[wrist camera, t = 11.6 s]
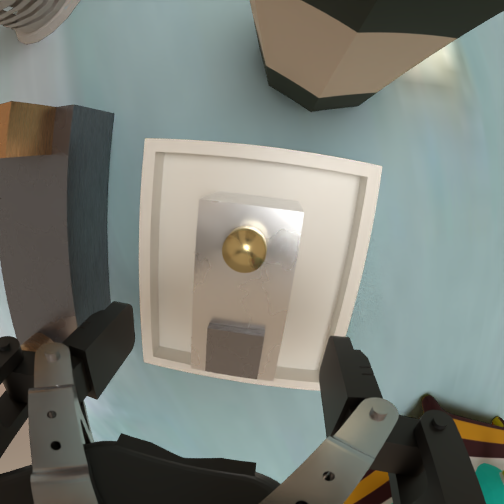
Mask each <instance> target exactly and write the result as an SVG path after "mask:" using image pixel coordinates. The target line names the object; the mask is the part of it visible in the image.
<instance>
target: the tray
mask: <svg viewBox="0 0 504 504" xmlns="http://www.w3.org/2000/svg"><path fill="white" fill-rule="evenodd" d="M381 172H382V166H379V165H374V164H369V163H365V162H360V161H355V160H350V159H344V158H339V157H333V156H328V155H322V154H316V153H309V152H303V151H296V150H289V149H282V148H274V147H266V146H257V145H248V144H238V143H227V142H215V141H200V140H182V139H155V138H145V144H144V154H143V166H142V179H141V196H140V220H139V292H140V316H141V332H142V346H143V357H144V362H145V363H149V364H153V365H158V366H162V367H166V368H170V369H175V370H179V371H184V372H189V373H194V374H199V375H204V376H209V377H215V378H220V379H226V380H232V381H238V382H245V383H252V384H259V385H267V386H275V387H284V388H294V389H305V390H318V391H320V384H319V372H320V367H321V363H322V360H323V356H324V353H325V349H326V346H327V342H328V339H329V337H330V336H342V337H345V336H346V333H347V330H348V326H349V323H350V319H351V316H352V312H353V308H354V305H355V301H356V297H357V293H358V289H359V285H360V281H361V277H362V273H363V269H364V264H365V260H366V255H367V251H368V246H369V241H370V236H371V231H372V226H373V221H374V215H375V210H376V204H377V198H378V192H379V186H380V179H381ZM217 191H223V192H231V193H240V194H248V195H256V196H264V197H272V198H279V199H286V200H293V201H299V203H300V205H301V207H302V209H303V211H304V218H303V224H302V231H301V237H300V243H299V249H298V255H297V261H296V267H295V273H294V279H293V285H292V290H291V296H290V301H289V307H288V312H287V317H286V323H285V328H284V333H283V338H282V343H281V348H280V353H279V358H278V363H277V367H276V372H275V377H274V382H273V381H265V380H258V379H250V378H243V377H236V376H230V375H224V374H218V373H213V372H207V371H203V370H197V369H192V368H191V336H192V305H193V282H194V264H195V247H196V233H197V220H198V207H199V199H201V198H203V197H205V196H207V195H210V194H212V193H214V192H217Z"/></svg>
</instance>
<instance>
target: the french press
mask: <svg viewBox="0 0 504 504" xmlns="http://www.w3.org/2000/svg"><path fill="white" fill-rule="evenodd" d="M79 1H80V0H0V25H3V26H5V27H7V28H11V29H13V30H16V34H17V37H18V40H19V41H20V42H22V43H24V44H26V45H27V44H31V43H35V42H39V41H40V40H42V39H43V38H45V37H46V36H48V35H49V34H51V33H52V32H54V31H55V30H56V29H57V28H58V26H59V25H60V24H62V23H63V22H64V21H65V20H66V19H67V18H68V17H69V15H70V14H71V12H72V11H73V9H74V8H75V7H76V5H77V4H78V3H79ZM8 6H11V7H13V9H11V10H9V11H8V12H7V11H4V10H3V9H4V8H6V7H8ZM16 11H18V13H17V15H15V14H12V13H14V12H16Z"/></svg>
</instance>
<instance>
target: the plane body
mask: <svg viewBox="0 0 504 504" xmlns="http://www.w3.org/2000/svg"><path fill="white" fill-rule="evenodd" d="M113 120H114V113H110V112H105V111H101V110H96V109H92V108H87V107H82V106H78V105H68V106H61V107H52V106H45V105H38V104H31V103H23V102H14V101H10V102H7V103H3V104H0V261H1V268H2V274H3V280H4V286H5V291H6V296H7V301H8V305H9V310H10V314H11V318H12V322H13V326H14V330H15V334H16V337H17V340H18V341H19V343H20V346H21V349H22V350H26V351H33V352H36V351H37V349H38V348H39V347H41V346H42V345H44V344H47V343H51V342H58V343H62V342H63V341H64V340H65V339H66V338H67V337H68V336H69V335H70V334H71V333H72V332H74V331H75V330H76V329H77V328H78V327H79V326H80V325H81V324H82V323H83V322H85V320H86V319H87V318H88V317H89V316H91V315H92V314H94V313H96V312H98V311H100V310H105V309H106V308H107V307H108V306H109V305H110V292H109V277H108V254H107V198H108V175H109V160H110V148H111V137H112V128H113Z"/></svg>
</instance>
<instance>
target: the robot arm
mask: <svg viewBox="0 0 504 504" xmlns="http://www.w3.org/2000/svg"><path fill="white" fill-rule="evenodd" d="M134 342H135V332H134V320H133V309H132V306H131V305H130V304H125V303H120V302H116V301H114V302H112V303H111V304H110V305H109V306H108V307H107V308H106V309H105V310H100V311H98V312H96V313H94V314H92V315H91V316H89V317H88V318H87V319H86V320H85V322H83V323H82V324H81V325H80V326H79V327H78V328H77V329H76V330H75V331H74V332H72V333H71V334H70V335H69V336H68V337H67V338H66V339H65V340H64V341H63V342H62V343H58V342H51V343H47V344H44V345H42V346H41V347H39V348H38V349H37V351H36V352H33V351H26V350H22V349H21V346H20V343H19V341H18V340H17V339H16V338H14V337H10V336H5V337H1V338H0V384H1V383H2V382H3V384H4V386H5V388H6V391H5V392H4V393H3V395H2V396H1V397H0V458H1V456H2V455H3V453H4V452H5V450H6V449H7V447H8V446H9V444H10V443H11V441H12V440H13V438H14V437H15V435H16V434H17V432H18V431H19V430H20V428H21V427H22V425H23V424H24V422H25V421H26V420H27V418H28V417H29V435H30V448H31V457H32V465H29V466H26V467H23V468H19V469H16V470H13V471H10V472H6V473H3V474H0V504H343V503H344V502H345V501H346V500H347V498H348V497H349V496H350V494H351V493H352V492H353V490H354V489H355V488H356V486H357V485H358V483H359V482H360V481H361V479H362V478H363V476H364V475H365V473H366V472H367V470H368V469H372V470H377V471H382V472H388V475H389V481H390V487H391V494H392V500H393V504H486V502H485V498H484V495H483V492H482V490H481V487H480V484H479V481H478V478H477V475H476V473H475V470H474V467H473V465H472V462H471V460H470V457H469V455H468V452H467V450H466V447H465V445H464V442H463V440H462V438H461V435H460V433H459V431H458V428H457V426H456V424H455V422H454V420H453V418H452V417H451V416H450V415H448V414H447V413H445V412H443V411H440V410H429V411H426V412H425V413H424V414H423V415H422V417H421V418H420V419H415V418H410V417H405V416H401V415H399V413H398V410H397V408H396V407H395V406H394V405H393V404H392V403H391V402H389V401H387V400H385V399H383V398H382V395H381V392H380V389H379V387H378V384H377V381H376V378H375V376H374V373H373V370H372V368H371V365H370V363H369V360H368V358H367V357H366V356H365V355H364V354H363V353H362V352H361V351H360V350H354V349H353V346H352V343H351V341H350V338H349V337H342V336H330V337H329V339H328V342H327V346H326V349H325V353H324V356H323V360H322V363H321V367H320V372H319V384H320V391H321V398H322V405H323V413H324V420H325V428H326V436H327V438H326V439H325V440H324V442H323V443H322V444H321V445H320V446H319V447H318V448H317V449H316V450H315V451H314V452H313V453H312V454H311V455H310V456H309V457H308V458H307V459H306V460H305V462H304V463H303V464H302V465H301V466H299V467H298V468H297V469H296V470H295V471H294V472H293V473H292V474H291V475H290V476H289V477H288V478H287V479H286V480H285V481H284V482H283V483H282V484H280V483H278V482H277V481H275V480H273V479H272V478H270V477H267V476H265V475H263V474H260V473H257V472H255V469H256V463H253V462H245V461H237V460H230V459H224V458H182V457H180V456H178V455H175V454H173V453H171V452H169V451H167V450H165V449H163V448H161V447H159V446H157V445H155V444H153V443H151V442H148V441H144V440H141V439H137V438H134V437H131V436H128V435H125V434H122V433H121V435H120V437H119V439H118V440H117V441H99V442H94V440H93V436H92V432H91V428H90V424H89V420H88V415H87V411H86V406H85V403H84V399H85V398H86V396H89V397H92V398H94V399H98V398H99V397H100V395H101V394H102V392H103V391H104V389H105V388H106V386H107V385H108V383H109V382H110V381H111V379H112V378H113V376H114V375H115V373H116V372H117V370H118V369H119V368H120V366H121V365H122V363H123V362H124V361H125V359H126V358H127V356H128V355H129V353H130V352H131V351H132V349H133V346H134Z"/></svg>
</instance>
